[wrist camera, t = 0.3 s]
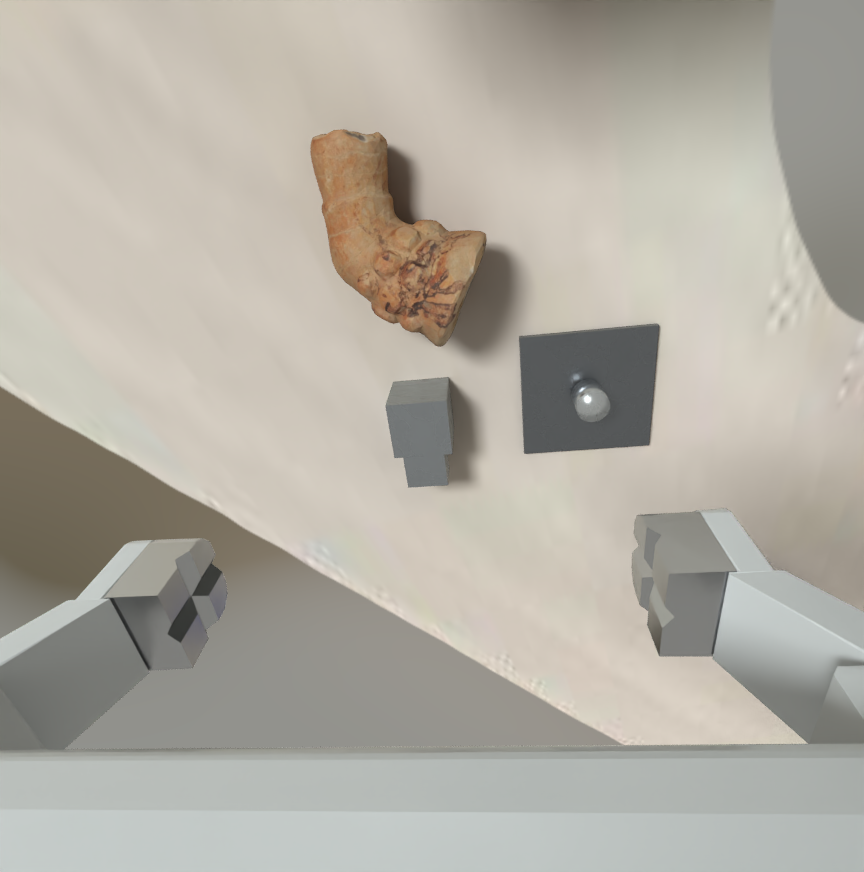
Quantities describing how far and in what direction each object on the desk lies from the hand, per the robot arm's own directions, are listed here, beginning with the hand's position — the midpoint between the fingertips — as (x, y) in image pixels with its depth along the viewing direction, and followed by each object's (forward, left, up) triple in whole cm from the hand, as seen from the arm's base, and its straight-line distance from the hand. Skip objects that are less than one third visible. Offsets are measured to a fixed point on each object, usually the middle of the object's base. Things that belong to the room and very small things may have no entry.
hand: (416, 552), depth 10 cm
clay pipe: (0, -5, -47) cm, 47 cm away
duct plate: (+18, +12, -47) cm, 52 cm away
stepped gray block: (+20, -6, -47) cm, 51 cm away
